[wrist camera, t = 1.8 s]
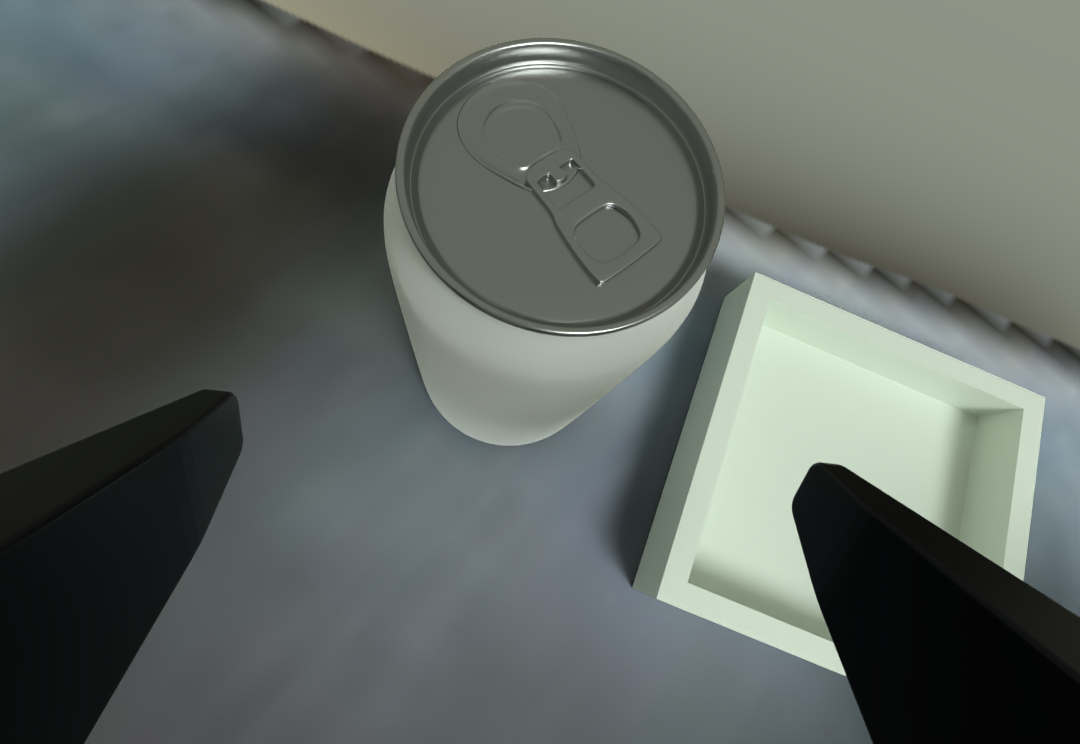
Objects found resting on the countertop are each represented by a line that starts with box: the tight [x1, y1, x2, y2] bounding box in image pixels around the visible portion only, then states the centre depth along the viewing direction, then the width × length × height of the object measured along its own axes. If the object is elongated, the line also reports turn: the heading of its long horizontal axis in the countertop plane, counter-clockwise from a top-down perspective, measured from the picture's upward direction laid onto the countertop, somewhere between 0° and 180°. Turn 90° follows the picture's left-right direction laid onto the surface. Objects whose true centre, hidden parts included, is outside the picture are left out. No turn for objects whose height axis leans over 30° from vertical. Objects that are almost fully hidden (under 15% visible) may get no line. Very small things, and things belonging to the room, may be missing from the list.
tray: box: [632, 272, 1045, 676], centre depth 20 cm, size 12×12×2 cm
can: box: [384, 38, 725, 446], centre depth 15 cm, size 6×6×12 cm
